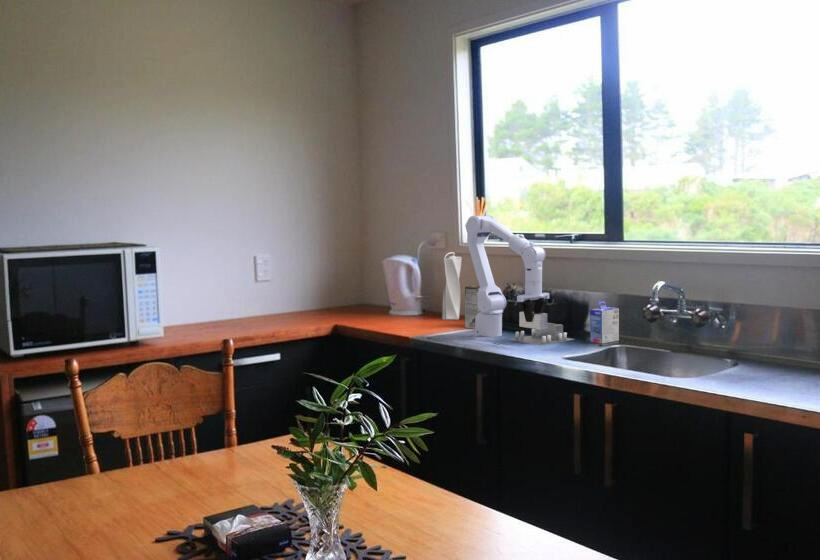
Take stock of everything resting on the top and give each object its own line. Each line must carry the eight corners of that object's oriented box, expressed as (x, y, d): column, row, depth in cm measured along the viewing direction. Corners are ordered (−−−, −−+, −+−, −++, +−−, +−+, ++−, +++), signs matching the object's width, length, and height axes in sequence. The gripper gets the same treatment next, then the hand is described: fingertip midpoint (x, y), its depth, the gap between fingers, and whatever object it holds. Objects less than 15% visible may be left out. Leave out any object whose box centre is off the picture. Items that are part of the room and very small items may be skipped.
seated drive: (535, 337, 279) (535, 322, 279) (542, 335, 282) (542, 321, 281) (555, 340, 273) (555, 325, 272) (562, 339, 275) (562, 324, 275)
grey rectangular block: (519, 326, 273) (519, 311, 273) (527, 325, 276) (527, 310, 275) (539, 329, 267) (539, 314, 266) (547, 328, 269) (547, 313, 269)
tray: (507, 342, 275) (507, 332, 274) (541, 336, 286) (541, 327, 286) (541, 348, 263) (541, 337, 263) (575, 342, 275) (575, 332, 275)
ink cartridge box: (606, 341, 277) (606, 299, 276) (619, 343, 273) (620, 301, 271) (588, 344, 271) (589, 302, 269) (602, 346, 266) (603, 303, 265)
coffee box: (476, 324, 315) (476, 284, 314) (490, 326, 311) (490, 285, 310) (464, 327, 308) (464, 286, 306) (478, 329, 304) (478, 287, 302)
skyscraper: (442, 317, 338) (442, 252, 335) (461, 317, 337) (462, 252, 335) (441, 320, 330) (441, 253, 327) (461, 320, 329) (461, 253, 326)
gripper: (528, 283, 262) (527, 324, 263) (556, 281, 271) (555, 320, 273) (512, 282, 267) (512, 322, 269) (540, 279, 277) (540, 318, 278)
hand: (533, 321), depth 271 cm, fingers closed on grey rectangular block, 4 cm apart
